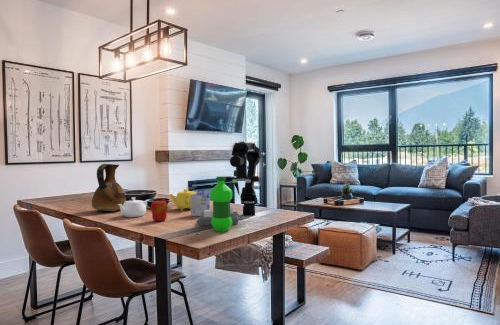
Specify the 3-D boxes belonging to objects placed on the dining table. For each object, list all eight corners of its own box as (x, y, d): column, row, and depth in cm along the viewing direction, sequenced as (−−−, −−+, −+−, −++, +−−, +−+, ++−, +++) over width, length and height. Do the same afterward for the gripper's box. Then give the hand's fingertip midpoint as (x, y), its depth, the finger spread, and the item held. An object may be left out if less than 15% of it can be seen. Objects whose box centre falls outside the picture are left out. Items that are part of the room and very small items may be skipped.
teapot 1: (138, 212, 216) (137, 194, 215) (155, 213, 210) (155, 195, 209) (109, 218, 196) (108, 199, 196) (127, 220, 190) (126, 200, 190)
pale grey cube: (212, 217, 181) (212, 209, 181) (211, 219, 178) (211, 211, 178) (204, 217, 181) (204, 210, 181) (204, 219, 178) (203, 211, 178)
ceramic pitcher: (131, 208, 230) (130, 162, 229) (114, 214, 210) (113, 164, 209) (104, 208, 233) (103, 162, 232) (85, 213, 214) (83, 164, 213)
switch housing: (238, 218, 192) (238, 211, 192) (237, 224, 176) (237, 217, 176) (201, 218, 192) (201, 212, 192) (197, 225, 176) (197, 217, 176)
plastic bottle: (237, 230, 163) (236, 176, 162) (217, 234, 157) (216, 178, 156) (225, 226, 171) (225, 175, 170) (206, 230, 165) (205, 176, 164)
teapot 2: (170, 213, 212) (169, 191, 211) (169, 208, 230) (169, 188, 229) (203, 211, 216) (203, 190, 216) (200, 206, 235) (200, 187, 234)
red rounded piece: (151, 223, 183) (150, 200, 182) (151, 220, 191) (150, 198, 190) (168, 221, 185) (167, 199, 185) (167, 218, 193) (166, 197, 193)
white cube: (232, 214, 190) (232, 206, 190) (232, 215, 187) (232, 207, 187) (225, 214, 190) (225, 206, 190) (225, 215, 187) (224, 208, 187)
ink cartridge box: (210, 214, 204) (209, 189, 203) (207, 216, 198) (206, 191, 198) (194, 214, 206) (193, 189, 205) (190, 216, 200) (190, 190, 200)
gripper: (258, 165, 196) (258, 193, 196) (224, 165, 196) (225, 193, 196) (259, 166, 185) (259, 195, 185) (223, 166, 185) (223, 196, 185)
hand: (241, 195), depth 188 cm, fingers open, 3 cm apart
